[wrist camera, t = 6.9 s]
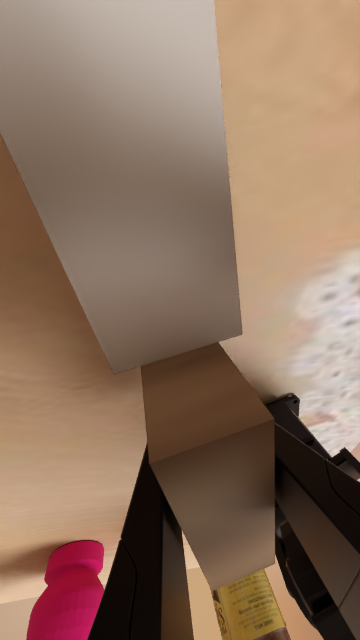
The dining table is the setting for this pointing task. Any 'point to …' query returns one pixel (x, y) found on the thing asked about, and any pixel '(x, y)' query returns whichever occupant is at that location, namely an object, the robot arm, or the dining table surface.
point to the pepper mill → (69, 593)
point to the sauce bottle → (249, 610)
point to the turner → (149, 240)
